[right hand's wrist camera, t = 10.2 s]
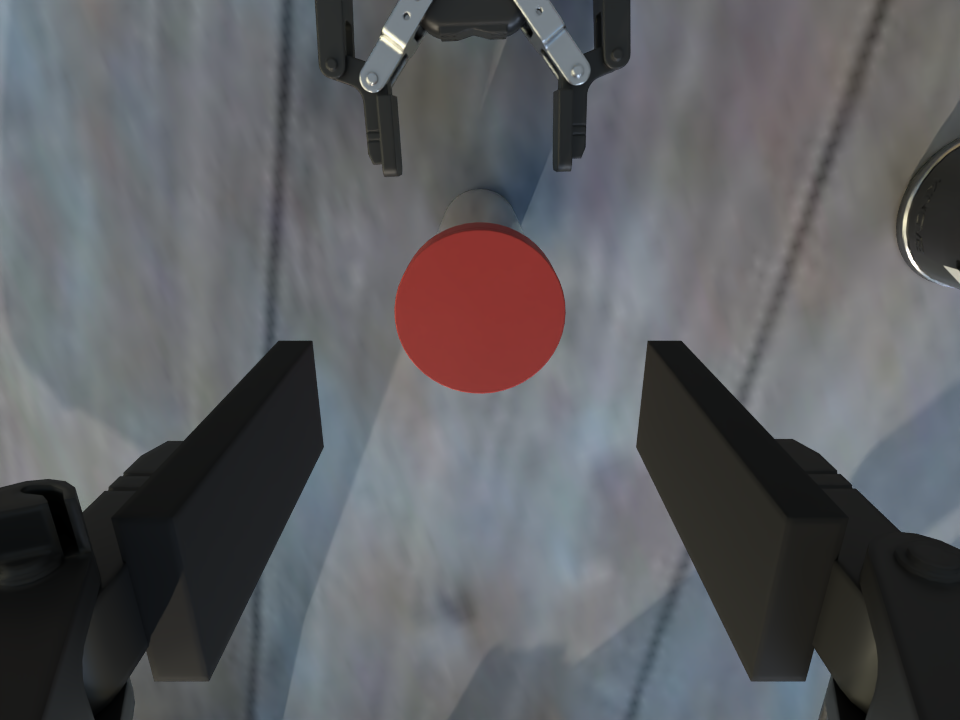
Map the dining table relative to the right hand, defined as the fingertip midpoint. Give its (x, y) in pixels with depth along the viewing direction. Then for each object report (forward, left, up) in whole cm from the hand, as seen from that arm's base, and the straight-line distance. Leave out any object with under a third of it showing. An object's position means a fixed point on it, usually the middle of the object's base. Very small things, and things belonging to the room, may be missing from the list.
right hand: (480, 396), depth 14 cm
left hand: (+1, +4, -19) cm, 19 cm away
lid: (0, 0, -7) cm, 7 cm away
